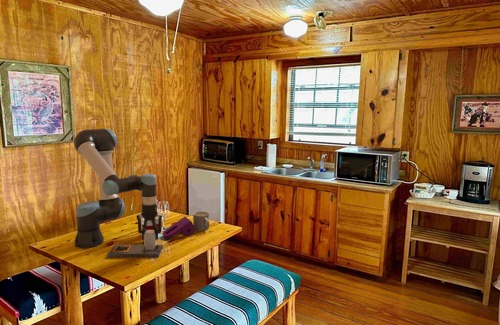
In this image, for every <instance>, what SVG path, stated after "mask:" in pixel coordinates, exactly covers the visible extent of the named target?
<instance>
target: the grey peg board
mask: <svg viewBox="0 0 500 325" xmlns="http://www.w3.org/2000/svg"><path fill="white" fill-rule="evenodd" d="M155 247H156V251H155V252H145V246H144V244H115V245H114V246H113V247H112V248H111V250H110V251H109V252H108V253H107V258H159V257H160V255H161V253H162V251H163V249H164V244H156V246H155Z"/></svg>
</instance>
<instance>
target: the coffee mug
mask: <svg viewBox="0 0 500 325" xmlns="http://www.w3.org/2000/svg"><path fill="white" fill-rule="evenodd" d="M192 217H193V218H192V223H193V225H194V227H195V231H196V232H206V231H207V230H209V227H210V220H209V219H210V213H209V212H207V211H196V212H193V214H192ZM195 231H194V232H195Z"/></svg>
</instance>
